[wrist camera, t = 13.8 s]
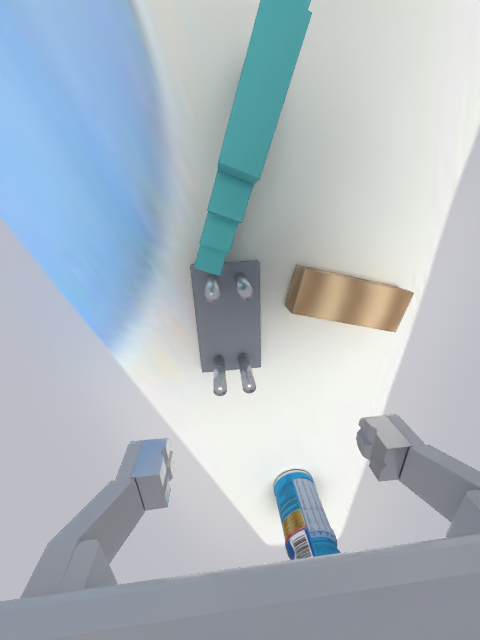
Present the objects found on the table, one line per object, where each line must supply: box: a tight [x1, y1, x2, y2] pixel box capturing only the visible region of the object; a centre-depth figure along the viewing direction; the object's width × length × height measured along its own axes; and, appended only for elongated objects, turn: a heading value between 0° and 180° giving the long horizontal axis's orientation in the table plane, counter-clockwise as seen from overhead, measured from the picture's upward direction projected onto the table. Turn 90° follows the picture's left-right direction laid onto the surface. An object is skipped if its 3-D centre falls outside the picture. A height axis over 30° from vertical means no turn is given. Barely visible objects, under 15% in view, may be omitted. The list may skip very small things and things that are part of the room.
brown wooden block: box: [285, 265, 414, 332], centre depth 36 cm, size 16×6×4 cm, turn 77°
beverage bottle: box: [274, 470, 341, 560], centre depth 42 cm, size 8×8×20 cm
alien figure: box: [194, 0, 312, 276], centre depth 21 cm, size 20×2×20 cm, turn 162°
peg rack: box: [190, 261, 261, 396], centre depth 33 cm, size 16×9×9 cm, turn 2°
